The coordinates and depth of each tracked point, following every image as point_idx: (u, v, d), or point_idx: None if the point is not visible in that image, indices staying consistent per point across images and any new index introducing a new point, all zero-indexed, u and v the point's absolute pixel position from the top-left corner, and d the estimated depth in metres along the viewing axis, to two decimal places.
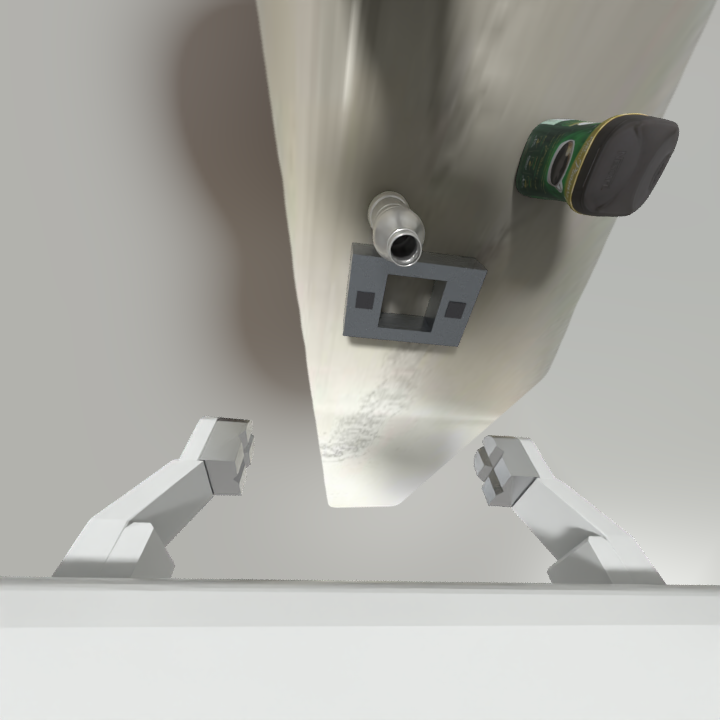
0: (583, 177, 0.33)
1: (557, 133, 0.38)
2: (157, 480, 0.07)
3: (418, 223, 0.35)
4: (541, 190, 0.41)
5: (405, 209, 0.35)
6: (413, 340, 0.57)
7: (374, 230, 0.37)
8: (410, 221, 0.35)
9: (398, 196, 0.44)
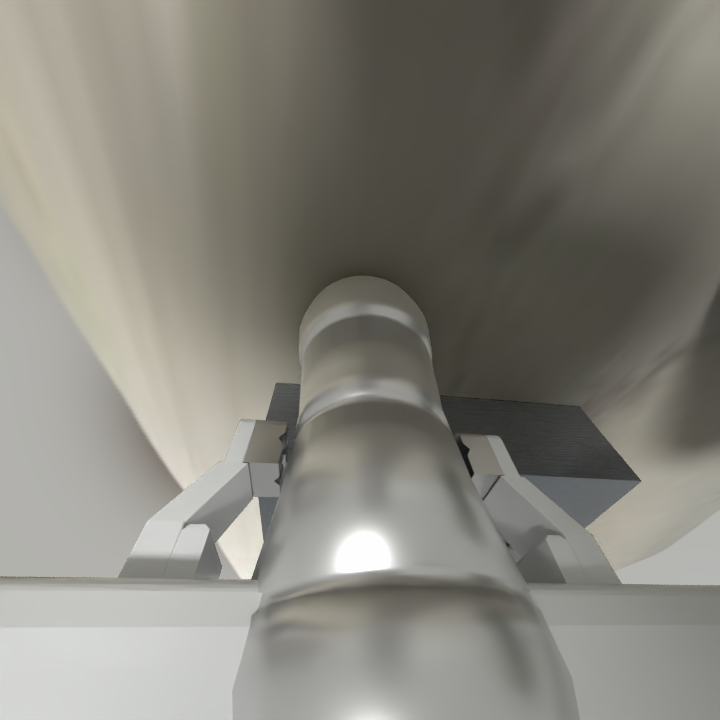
0: None
1: None
2: (206, 482, 0.08)
3: None
4: None
5: (456, 692, 0.04)
6: None
7: None
8: None
9: (393, 307, 0.13)
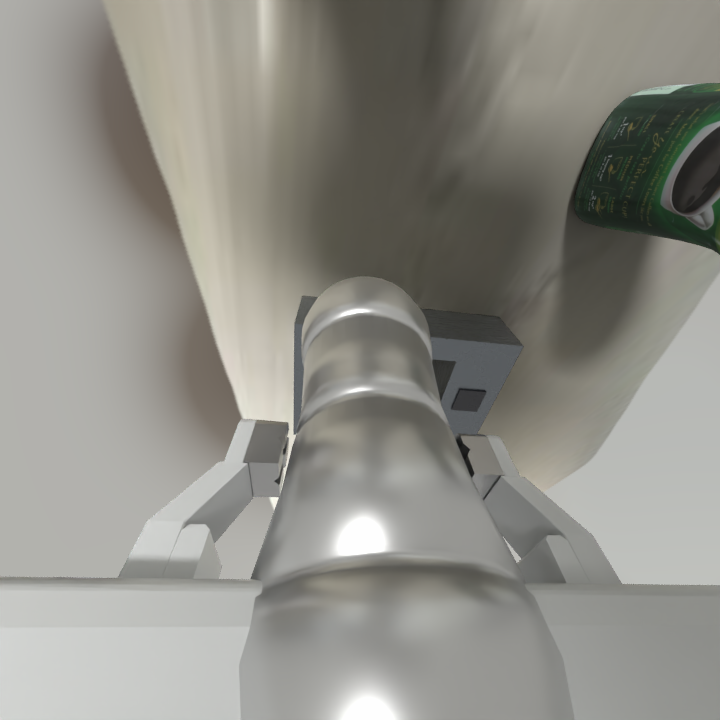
0: None
1: (688, 107, 0.18)
2: (206, 482, 0.08)
3: None
4: (639, 220, 0.21)
5: (449, 663, 0.04)
6: None
7: None
8: None
9: (394, 307, 0.13)
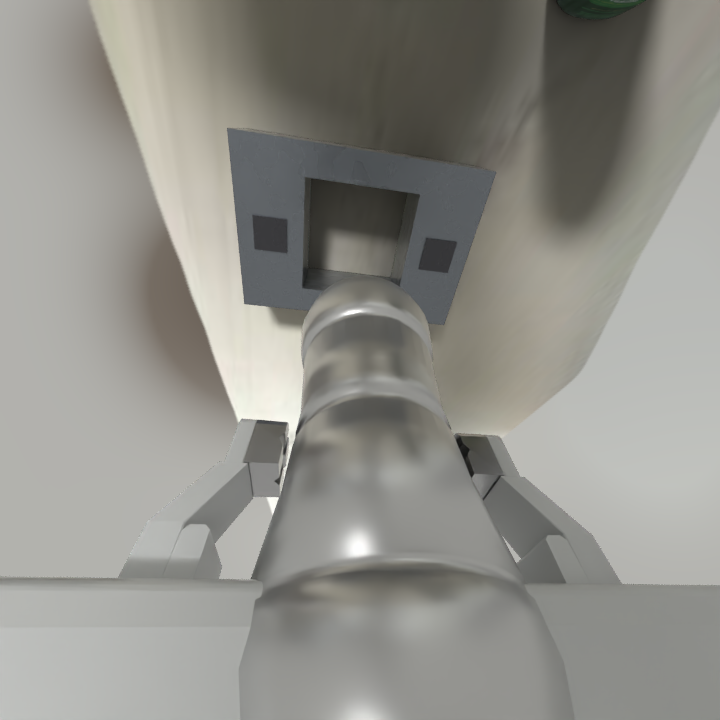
0: None
1: None
2: (206, 482, 0.08)
3: None
4: None
5: (449, 669, 0.04)
6: None
7: None
8: None
9: (394, 306, 0.13)
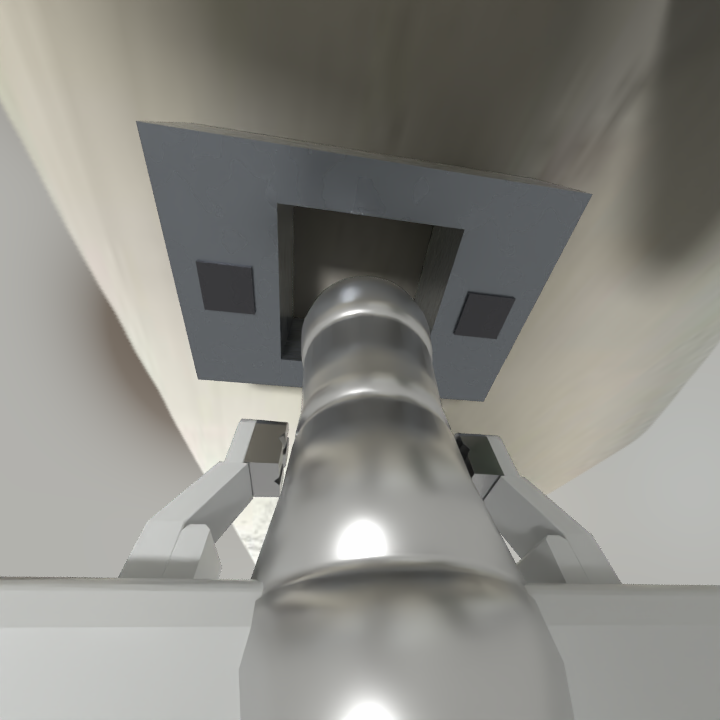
0: None
1: None
2: (206, 482, 0.08)
3: None
4: None
5: (449, 670, 0.04)
6: None
7: None
8: None
9: (394, 307, 0.13)
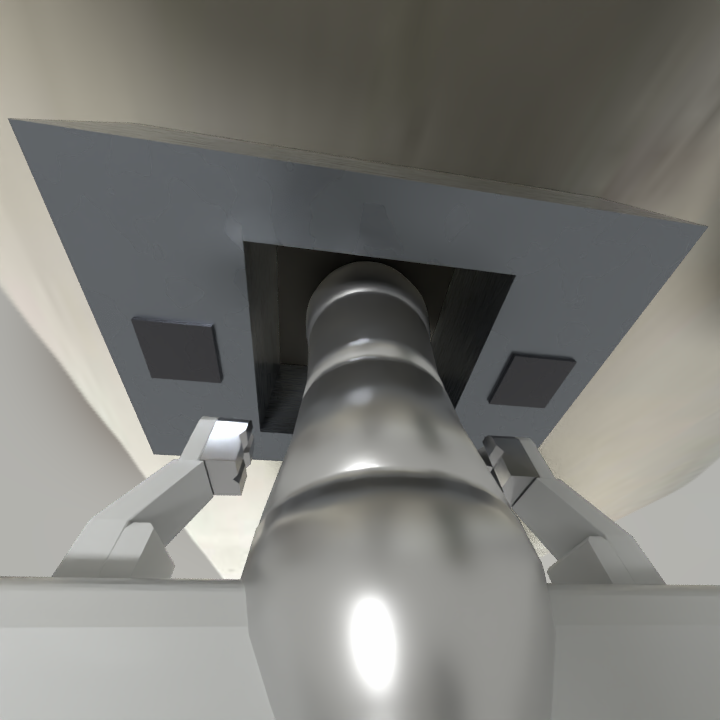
0: None
1: None
2: (157, 480, 0.07)
3: (539, 653, 0.05)
4: None
5: (438, 542, 0.05)
6: None
7: None
8: (490, 711, 0.04)
9: (393, 287, 0.14)
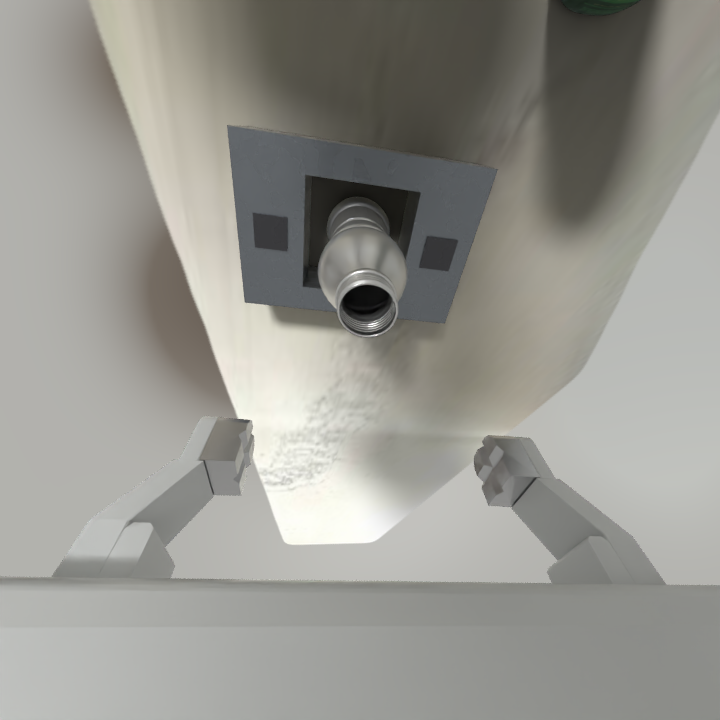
0: None
1: None
2: (157, 480, 0.07)
3: (394, 256, 0.20)
4: None
5: (370, 231, 0.20)
6: None
7: (319, 267, 0.21)
8: (378, 254, 0.19)
9: (370, 204, 0.29)
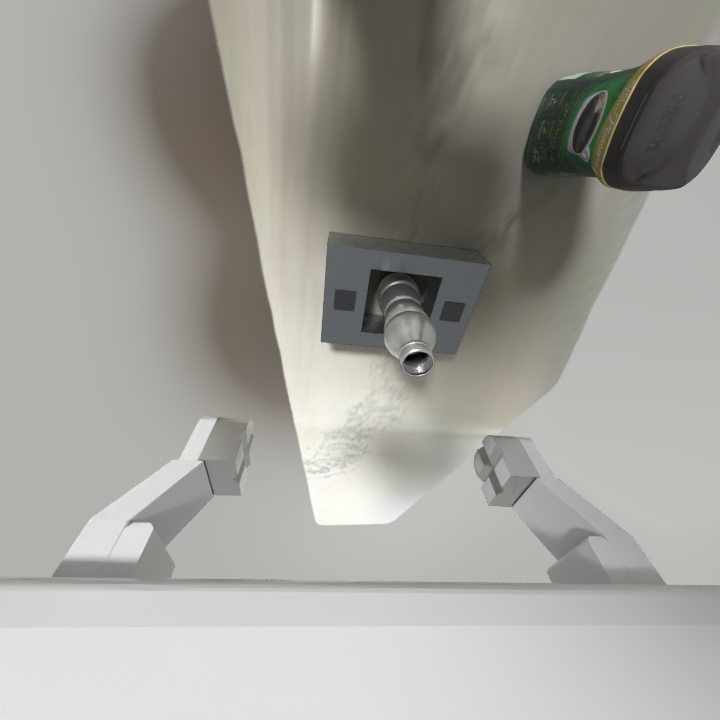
0: (621, 136, 0.25)
1: (582, 86, 0.30)
2: (157, 480, 0.07)
3: (430, 329, 0.35)
4: (559, 162, 0.33)
5: (417, 315, 0.35)
6: None
7: (385, 333, 0.36)
8: (422, 330, 0.35)
9: (408, 281, 0.44)
